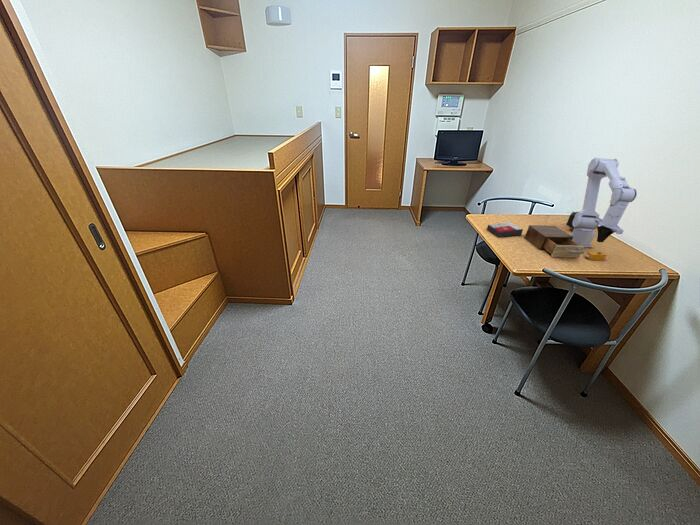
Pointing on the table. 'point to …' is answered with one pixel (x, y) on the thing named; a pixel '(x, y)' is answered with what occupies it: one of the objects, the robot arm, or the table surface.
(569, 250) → the drawer
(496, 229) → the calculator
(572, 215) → the camera
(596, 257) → the box cutter
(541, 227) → the cabinet
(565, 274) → the table surface
